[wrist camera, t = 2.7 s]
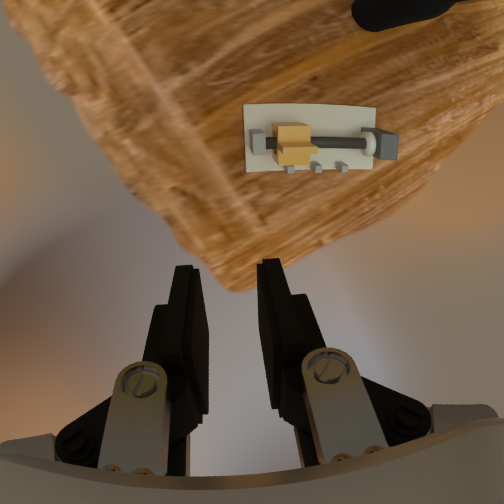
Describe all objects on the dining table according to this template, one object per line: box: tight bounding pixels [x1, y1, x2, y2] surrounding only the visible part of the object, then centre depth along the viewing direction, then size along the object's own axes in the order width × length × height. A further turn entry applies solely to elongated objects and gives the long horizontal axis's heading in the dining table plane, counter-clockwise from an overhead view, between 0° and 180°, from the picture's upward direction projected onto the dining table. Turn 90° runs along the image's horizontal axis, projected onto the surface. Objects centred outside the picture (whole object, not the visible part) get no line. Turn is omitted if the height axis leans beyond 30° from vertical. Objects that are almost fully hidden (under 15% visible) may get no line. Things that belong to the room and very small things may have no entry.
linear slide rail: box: [243, 103, 399, 174], centre depth 40 cm, size 20×10×8 cm, turn 92°
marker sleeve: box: [272, 122, 318, 166], centre depth 37 cm, size 4×5×8 cm
